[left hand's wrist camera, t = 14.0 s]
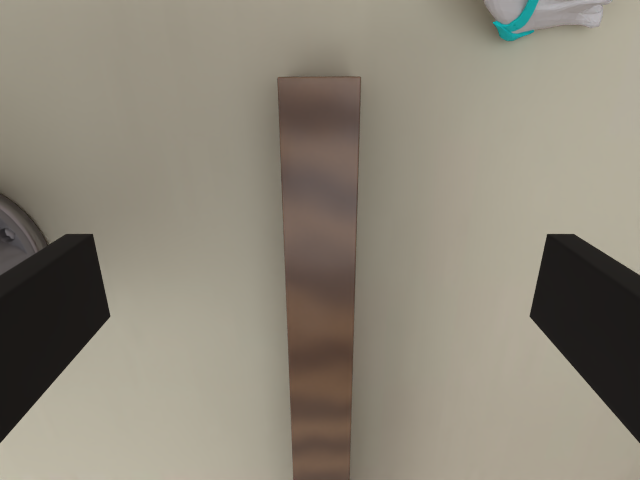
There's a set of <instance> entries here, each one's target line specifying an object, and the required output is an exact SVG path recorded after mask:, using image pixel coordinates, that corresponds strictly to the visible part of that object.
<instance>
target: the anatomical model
mask: <svg viewBox="0 0 640 480" xmlns="http://www.w3.org/2000/svg"><path fill="white" fill-rule="evenodd" d="M483 1H484V3H485V6H486V7H487V9H488V10H489V12H490V13H491V14H492V15H493V17H494V18H495V19H496V21H495V22H493V24H494V25H495V26H496V28H497V29H498V32H499V36H500V37H501V38H502V39H504V40H506V41H514V40H516V39H518V38H520V37H522V36H525V35H528V34H531V33H533V32H534V30H536V29H545V28H551V27H556V26H561V25H583V26H586V27H590V28H593V27H598V26H599V25H600V22H601V19H602V16H603V7H602V5H605V4H609V3H610V2H612V0H483Z"/></svg>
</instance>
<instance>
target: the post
mask: <svg viewBox="0 0 640 480" xmlns="http://www.w3.org/2000/svg"><path fill="white" fill-rule="evenodd" d="M360 93H361V77H355V76H329V77H278V103H279V128H280V153H281V178H282V203H283V228H284V254H285V279H286V304H287V329H288V354H289V379H290V404H291V429H292V454H293V479H294V480H349V475H350V440H351V405H352V371H353V336H354V301H355V267H356V232H357V197H358V163H359V128H360Z"/></svg>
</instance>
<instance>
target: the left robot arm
mask: <svg viewBox="0 0 640 480" xmlns="http://www.w3.org/2000/svg"><path fill="white" fill-rule="evenodd" d="M109 317H110V312H109V308H108V303H107V298H106V294H105V289H104V284H103V280H102V275H101V270H100V266H99V261H98V256H97V252H96V247H95V242H94V238H93V234H66V235H64V236H62V237H61V238H59V239H58V240H56V241H54V242H53V243H51V244H50V245H48V246H47V244H46V241H45V239H44V237H43V235H42V234H41V232H40V231H39V229H38V227H37V226H36V225H35V223H34V222H33V221H32V220H31V219H30V217H29V216H28V215H27V214H26V213H25V212H24V211H23V210H22V209H21V208H19V207H18V206H17V205H16V204H15V203H13V202H12V201H11V200H9V199H8V198H6V197H5V196H3V195H1V194H0V443H1V442H2V440H3V439H4V438H5V437H6V436H7V435H8V434H9V432H10V431H11V430H12V429H13V428H14V427H15V426H16V424H17V423H18V422H19V421H20V420H21V419H22V417H23V416H24V415H25V414H26V413H27V412H28V411H29V409H30V408H31V407H32V406H33V405H34V404H35V403H36V401H37V400H38V399H39V398H40V397H41V396H42V394H43V393H44V392H45V391H46V390H47V389H48V388H49V386H50V385H51V384H52V383H53V382H54V381H55V380H56V378H57V377H58V376H59V375H60V374H61V373H62V371H63V370H64V369H65V368H66V367H67V366H68V365H69V363H70V362H71V361H72V360H73V359H74V358H75V357H76V355H77V354H78V353H79V352H80V351H81V350H82V348H83V347H84V346H85V345H86V344H87V343H88V342H89V340H90V339H91V338H92V337H93V336H94V335H95V334H96V332H97V331H98V330H99V329H100V328H101V327H102V326H103V324H104V323H105V322H106V321H107V320H108V319H109ZM530 317H531V319H532V320H533V321H534V322H535V323H536V324H537V326H538V327H539V328H540V329H541V330H542V331H543V332H544V334H545V335H546V336H547V337H548V338H549V339H550V340H551V342H552V343H553V344H554V345H555V346H556V347H557V348H558V350H559V351H560V352H561V353H562V354H563V355H564V357H565V358H566V359H567V360H568V361H569V362H570V363H571V365H572V366H573V367H574V368H575V369H576V370H577V371H578V373H579V374H580V375H581V376H582V377H583V378H584V380H585V381H586V382H587V383H588V384H589V385H590V386H591V388H592V389H593V390H594V391H595V392H596V393H597V394H598V396H599V397H600V398H601V399H602V400H603V401H604V403H605V404H606V405H607V406H608V407H609V408H610V409H611V411H612V412H613V413H614V414H615V415H616V416H617V417H618V419H619V420H620V421H621V422H622V423H623V424H624V426H625V427H626V428H627V429H628V430H629V431H630V432H631V434H632V435H633V436H634V437H635V438H636V439H637V440H638V442H639V443H640V275H638V274H637V273H635V272H634V271H632V270H630V269H629V268H627V267H626V266H624V265H622V264H621V263H619V262H618V261H616V260H614V259H613V258H611V257H610V256H608V255H606V254H605V253H603V252H602V251H600V250H598V249H597V248H595V247H594V246H592V245H590V244H589V243H587V242H586V241H584V240H582V239H581V238H579V237H578V236H576V235H574V234H547V238H546V242H545V247H544V252H543V256H542V261H541V266H540V270H539V275H538V280H537V284H536V289H535V294H534V298H533V303H532V308H531V312H530Z"/></svg>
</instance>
